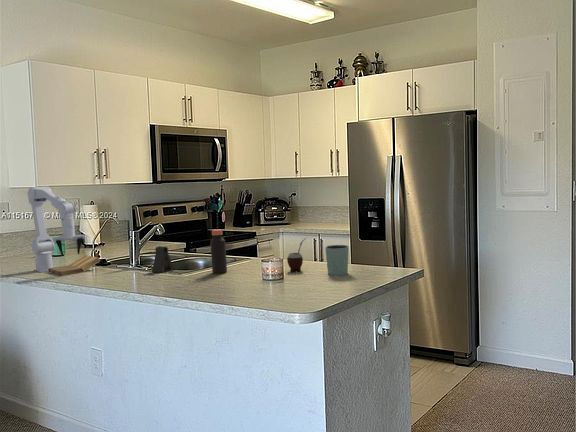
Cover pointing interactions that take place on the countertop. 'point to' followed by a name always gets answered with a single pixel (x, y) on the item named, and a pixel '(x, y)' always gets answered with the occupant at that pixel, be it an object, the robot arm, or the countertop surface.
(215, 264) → the bottle
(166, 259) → the door stopper
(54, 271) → the walnut plank
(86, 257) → the oak plank
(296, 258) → the mate gourd
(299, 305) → the countertop surface
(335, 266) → the grey-green cup
